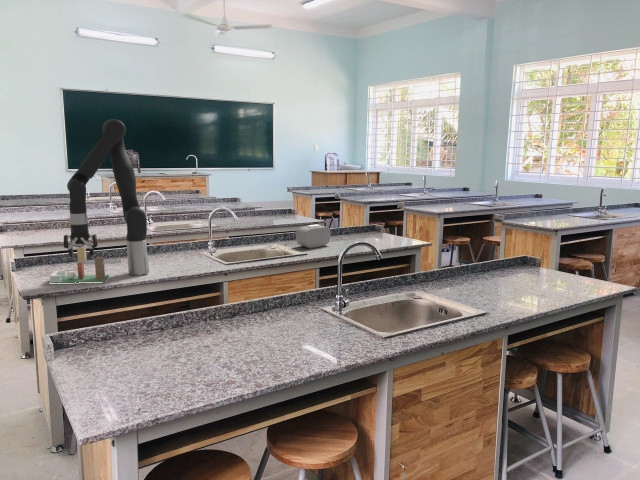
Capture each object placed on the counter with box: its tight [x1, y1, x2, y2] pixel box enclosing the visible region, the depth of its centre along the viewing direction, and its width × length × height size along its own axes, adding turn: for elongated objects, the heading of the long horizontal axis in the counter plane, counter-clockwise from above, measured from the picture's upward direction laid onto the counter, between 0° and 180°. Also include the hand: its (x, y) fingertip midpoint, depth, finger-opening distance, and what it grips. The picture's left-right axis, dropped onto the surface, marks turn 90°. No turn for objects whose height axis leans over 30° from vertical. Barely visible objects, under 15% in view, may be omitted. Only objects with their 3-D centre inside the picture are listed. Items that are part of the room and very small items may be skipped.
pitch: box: [49, 255, 110, 283], centre depth 241 cm, size 24×11×11 cm, turn 99°
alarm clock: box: [295, 224, 332, 249], centre depth 319 cm, size 21×10×13 cm, turn 130°
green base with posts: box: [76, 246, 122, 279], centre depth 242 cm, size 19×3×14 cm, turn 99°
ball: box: [66, 270, 77, 279], centre depth 241 cm, size 4×4×4 cm
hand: (81, 256), depth 240 cm, fingers open, 8 cm apart
